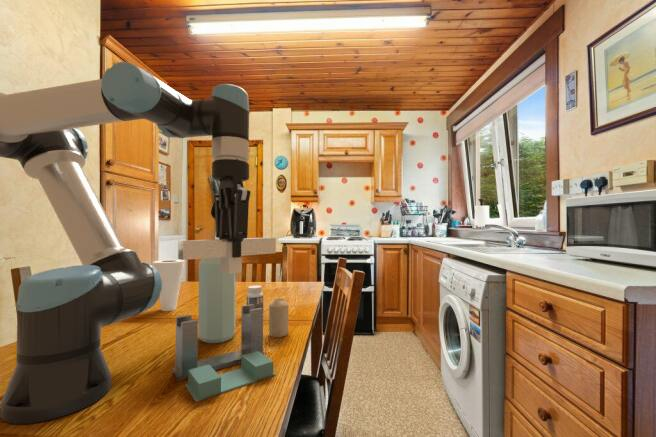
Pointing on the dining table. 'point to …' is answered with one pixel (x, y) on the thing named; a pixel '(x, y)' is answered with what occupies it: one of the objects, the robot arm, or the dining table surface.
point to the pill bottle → (255, 296)
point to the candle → (278, 318)
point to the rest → (228, 376)
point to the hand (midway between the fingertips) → (230, 272)
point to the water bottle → (215, 302)
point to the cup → (169, 282)
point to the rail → (223, 248)
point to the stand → (189, 355)
